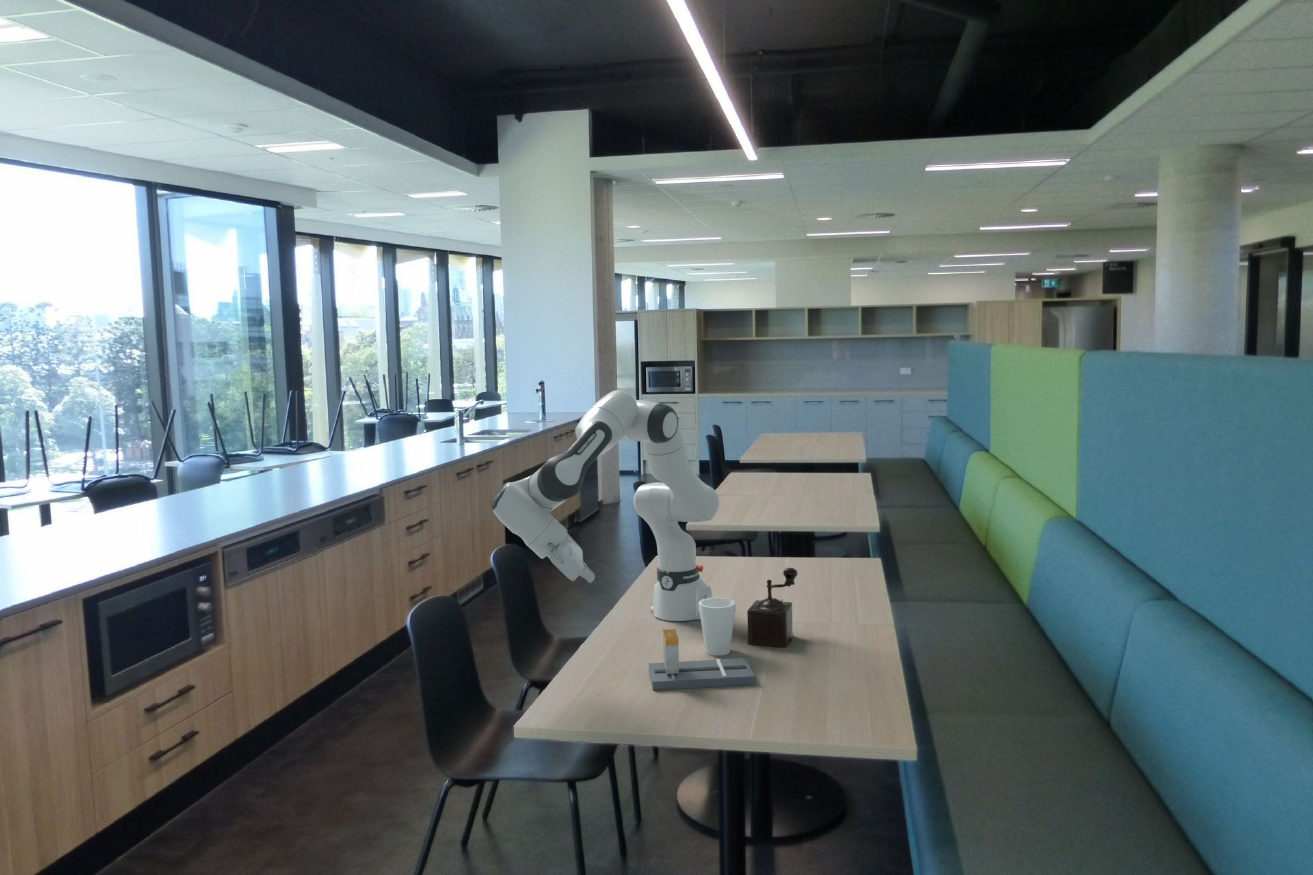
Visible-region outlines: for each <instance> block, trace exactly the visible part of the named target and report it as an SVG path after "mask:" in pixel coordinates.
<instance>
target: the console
mask: <svg viewBox="0 0 1313 875" xmlns="http://www.w3.org/2000/svg"><path fill="white" fill-rule="evenodd" d="M648 674H649V677H650V684H651V688H652V691H662V690H675V689H676V690H679V689H694V688H695V689H696V688H699V689H700V688H714V687H715V688H716V687H733V686H747V685H748V686H749V685H756V676H755V674H754V672H753V670H752V668H751V666H750V664H749V663H748V660H747V659H746V657H744V658H743V657H741V658H726V659H724V658H723V659H722V658H721V659H719V658H717V659H709V660H708V659H705V660H702V659H701V660H690V661H688V660H685V661H683V660H682V661H679V673H678V674H666V671H665V667H664V662H651V663H650V662H648Z"/></svg>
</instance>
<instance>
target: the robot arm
mask: <svg viewBox="0 0 1313 875" xmlns="http://www.w3.org/2000/svg"><path fill="white" fill-rule="evenodd" d="M576 425H577V426H576V427H575V428H574V429H575V431H574V432H575V437H576V440H575V442H573V444H572V445H571V446H570V447H569V448H568V449H567V451H566V452H563V453H560V454H557V455H554V456H553V457H551V458H548V459H547V461H545V463H543V465H542V466H541V467H540V468H539V469H538V470H536V471H535V472H534V473H533V474H531V475H529V476H528V477H525V478H522V479H519V480H516V481H512V482H511V481H508V482H506V483H505V484H503V485H502V486H501V487H500V489H499V491H498V492H496V495H495V496H494V498H493V500H492V502H491V510H492V512H493V514H494V515H495V516H496V517H497V518H498V520H499V521H500V522H501V523H502V524H503V525H504V526H505V527H506V528H507V529H508V530H509V531H510V532H511V533H512V534H515V535H517V536H518V537H519V538H521V539H522V541H523V542H524V544H525V545H526V546H527V547H528V548H529V549H530V550H532V551H533V552H534V553H535V555H537V556H538V557H539V558H540V559H545V558H546V557H547V558H548V559H549V560H550V561H551V563H552V564H553V565H554V566H555V567H556V568H557V569H558V570H559V571H560V572H561V573H562V574H564V576H566V578H567V579H569V580H570V581H572V582H575V580H576V579H578V578H579V576H580V577H581V578H583V579H584V580H586V581H587V582H588V583H593V581H594V580H595V578H596V576H595V573H594V572H593V571H592V570H591V569H590V568H589V566H588V565H587V564H586V563H585V562H584V558H583V557H584V554H583V549H582V548H581V547H580V546H579V544H578V543H577V542H576V541H575V540H574V539H573V537H572V536H570V534H568V529H567V528H565V526H564V525H563V524H562V523H560V522H559V521H558V520H557V519H556V517H555V518H554V517H553V515H552V514H551V512H552V511H553V510H555V509H557V508H558V507H559V506H561V505H562V504H563V503H565V502H566V501H568V500H570V499H571V498H573V497H574V496H576V495H577V494H578V493H579V492H580V491H581V489H582V487H583V485H584V480H585V477H586V473H587V471H588V469H589V468H590V466H591V465H592V464H593V463H594V461H595V460H596V459H597V458H598V457H599V456H602V455H605V454H606V453H607V452H609V451H610V450H612V449H613V447H615V446H616V445H617V444H618V443H619V442H620V441H621V440H622V439H625V440H628V441H633V442H642V443H643V448H644V452H645V457H646V462H647V466H648V470H649V472H650V474H651V475H652V477H654V478H655V479H656V480H657V481H660V482H650V483H645V484H641V485H640V486H639V487H638V488H637V489H636V491H635V493H634V495H633V507H634V510H635V512H636V513H637V514H638V516H640V517H641V518H642V519H643V520H644V521H645V522H646V523H647V524H648V525H649V528H650V530H651V531H652V533H653V536H654V538H655V541H656V547H657V550H656V551H657V560H658V562H657V563H658V564H657V565H658V566H657V567H656V579H657V582H655V584H654V590H653V605H651V606H650V612H652V613H653V616H654V617H655V618H657V619H659V620H663V621H669V622H684V621H685V622H687V621H693V620H701V617H700V613H699V601H701V600H702V599H706V598H713V597H712V596H713V594H712V588H711V586H710V585H709V584H707V583H706V582H705V581H704V580H703V579H702V578H701V577H700V573H702V572H704V565H703V564H697V548H696V547H697V546H696V545H697V544H696V542H695V540H694V539H693V536H691V535H690V534H688V532H685V531H684V530H683V529H682V528H681V527H680V525H679V523H678V522H685V523H700V522H707V521H712V520H713V519H714V518H715V517H716V515H717V513H718V511H719V508H720V499H719V495H718V494H717V492H716V490H715V489H714V488H713V487H712V486H709V485H708V484H706V483H705V482H704V481H702V479H701V478H699V476H698V475H697V474H696V473H695V472H694V470H693V469H692V467H691V465H690V463H689V459H688V456H687V454H686V448H685V444H684V439H683V438H684V437H683V434H682V430H681V428H680V427H681V426H680V425H679V418H678V415H677V412H676V410H675V409H674V408H673V407H672V406H671V405H668V404H664V403H662V402H661V403H660V402H659V403H657V402H656V401H655V402H653V401H650V400H645V399H635V398H634V397H633V395H632V394H630V393H629V392H627V391H625V390H622V389H621V390H619V389H615V390H613V391H610V392H609V393H607V394H605V395H604V396H602V397H601V398H600V399H599V400H598V401H596V402H595V403H594V404H593V405H592V406H591V407H590V408H589V409H588V410H587V411H586V412H585V414H584V415H583V416H582V417H581V419H580V420H579V422H578V424H576Z"/></svg>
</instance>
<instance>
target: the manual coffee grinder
mask: <svg viewBox="0 0 1313 875" xmlns="http://www.w3.org/2000/svg"><path fill="white" fill-rule="evenodd" d="M782 575H783V576H784V578H785V581H784V583H782V584H772V579H767V580H766V588H767V598H764V599H761V600H759V599H757V600H755V601H754V602H753V603H752V605H751V606H750V607H749V608H748V609H747V612H746V614H747V644H748V645H751V646H762V647H772V648H784V649H785V648H787V646H788V645H789V644H790V643H791V641H792V640H793V639H794V638H793V637H794V636H793V635H794V634H793V633H794V632H793V602H790V601H784V599H782V600H780V599H778V598H776V597H772V589H774V588H776V589H777V588H779V589H780V588H784V587H789V588H790V587H791V586H792V585H796V583H795V579H796V577H797V576H798V571H797V570H796V569H795V568H793V567H786V568H784V569H783V571H782Z"/></svg>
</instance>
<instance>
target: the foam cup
mask: <svg viewBox="0 0 1313 875" xmlns="http://www.w3.org/2000/svg"><path fill="white" fill-rule="evenodd" d="M736 610H737V607H736V601H735V600H734V599H731V598H727V597H718V596H717V597H716V596H715V597H712V598H706V599H702V600H701V601H699V613H700V617H701V619H700V623H701V628H702V635H703V642H704V643H703V644H704V649H705V653H706V655H707V654H708V655H710V656H717V657H718V656H719V657H720V656H725V655H728V654H730V652H731V646H732V641H733V640H732V638H733V630H734V622H735V614H736Z"/></svg>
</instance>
